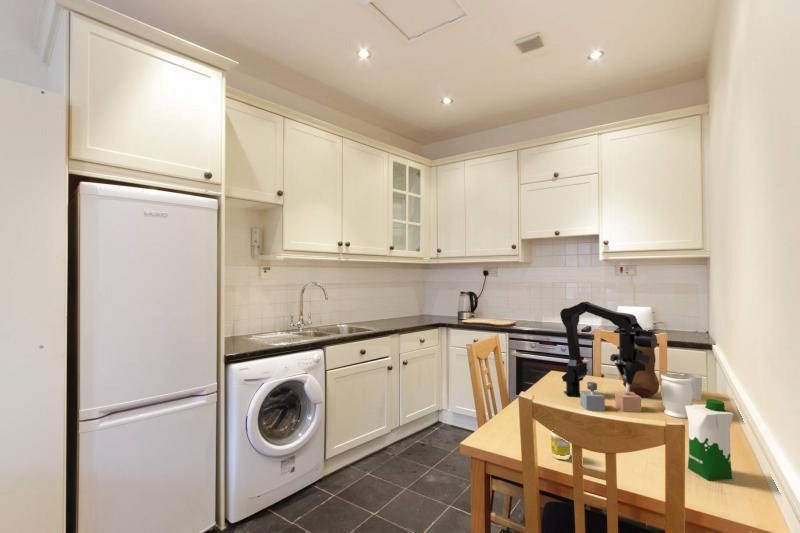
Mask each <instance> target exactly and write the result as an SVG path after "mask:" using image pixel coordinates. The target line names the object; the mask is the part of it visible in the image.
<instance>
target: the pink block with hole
mask: <svg viewBox="0 0 800 533" xmlns="http://www.w3.org/2000/svg"><path fill="white" fill-rule="evenodd" d="M629 394H630V395H626V391H615V393H614V396H615V397H614V399H615V402H614V404H615V407H616V408H617V407H618V408H617V409H619V410H620V411H621V412H623V413H642V397H641V396H638V395H637V394H635V393H634V392H629Z"/></svg>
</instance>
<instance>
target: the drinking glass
mask: <svg viewBox="0 0 800 533" xmlns="http://www.w3.org/2000/svg"><path fill="white" fill-rule="evenodd" d="M683 375H685V376H688V377H691V378H692V382H691V385H692V391H693V397H692V401H701V400H702V392H703V391H702V386H703V376H702V375H699V374H694V373H684V374H683Z"/></svg>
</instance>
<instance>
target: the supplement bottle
mask: <svg viewBox="0 0 800 533" xmlns="http://www.w3.org/2000/svg"><path fill="white" fill-rule="evenodd" d="M550 445H551V446H550V448H551V449H550V450H551V451H552V453H553V454H556V455H560V456H566V455H569V454H570V455H571V442H570V443H569V442H566V441H565V440H563V439H561V438H560V437H558V436H556V435H555V434H553V433H552V431H551V432H550Z"/></svg>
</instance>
